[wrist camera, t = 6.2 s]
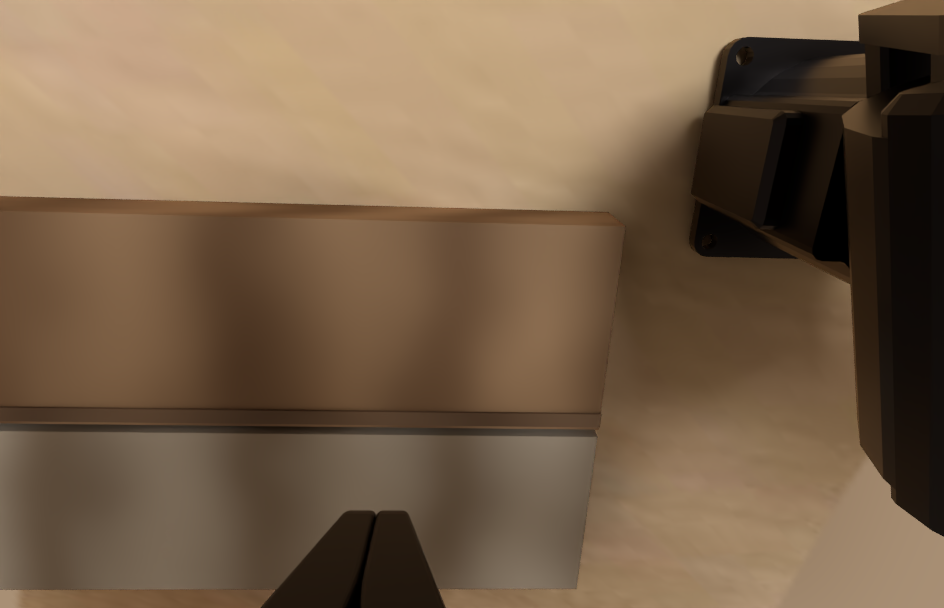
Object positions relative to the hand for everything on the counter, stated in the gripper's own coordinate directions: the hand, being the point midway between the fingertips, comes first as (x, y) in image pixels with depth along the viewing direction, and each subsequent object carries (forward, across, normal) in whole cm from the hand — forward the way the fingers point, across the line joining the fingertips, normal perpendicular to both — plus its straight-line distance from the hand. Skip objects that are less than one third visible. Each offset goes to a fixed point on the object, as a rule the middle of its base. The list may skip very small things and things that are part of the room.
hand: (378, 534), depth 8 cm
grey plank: (+12, +5, +9) cm, 16 cm away
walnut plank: (+12, +5, +2) cm, 13 cm away
